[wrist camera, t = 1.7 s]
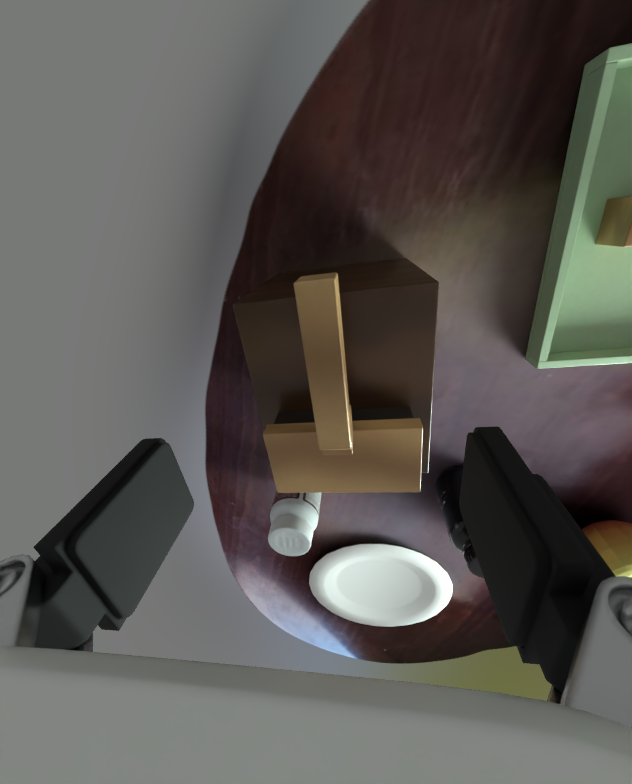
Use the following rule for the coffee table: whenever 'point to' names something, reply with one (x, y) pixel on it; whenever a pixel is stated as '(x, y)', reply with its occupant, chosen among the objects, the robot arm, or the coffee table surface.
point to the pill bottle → (293, 522)
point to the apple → (613, 544)
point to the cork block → (616, 223)
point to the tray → (589, 230)
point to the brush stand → (348, 340)
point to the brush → (339, 416)
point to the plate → (380, 584)
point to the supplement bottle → (456, 515)
